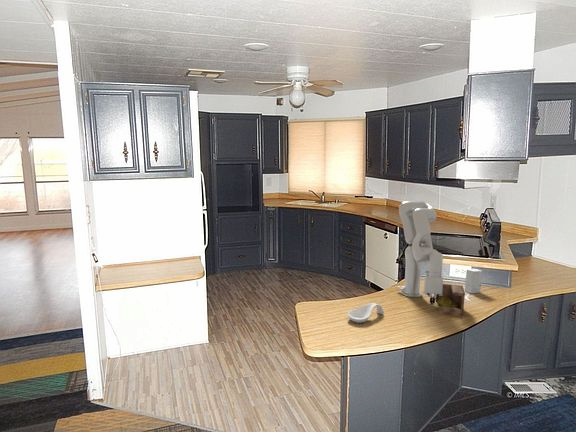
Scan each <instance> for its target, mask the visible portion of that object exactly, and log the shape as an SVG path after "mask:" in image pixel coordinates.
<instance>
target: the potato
mask: <svg viewBox="0 0 576 432" xmlns="http://www.w3.org/2000/svg"><path fill="white" fill-rule="evenodd" d="M435 304H437V305H438V307H440V306H441V307H449V308H457V309H459V307H458V305H457V304H456V303H455V302H453V301H452V300H451V299H450V298H448V297H447V296H445V295H442V296H438V297H436V299H435Z"/></svg>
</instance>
